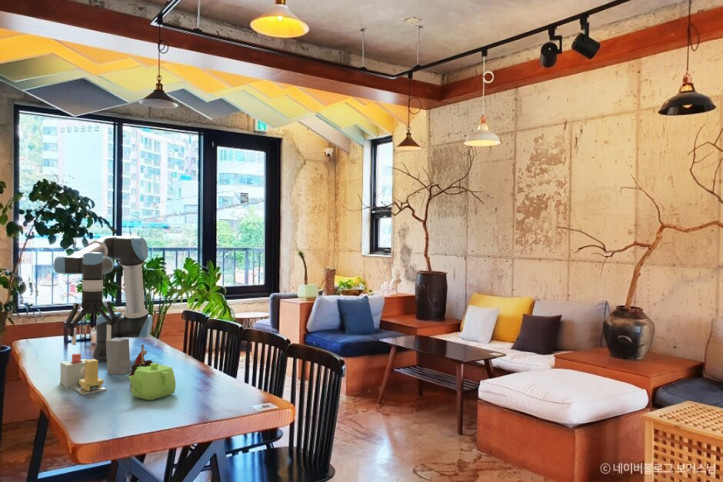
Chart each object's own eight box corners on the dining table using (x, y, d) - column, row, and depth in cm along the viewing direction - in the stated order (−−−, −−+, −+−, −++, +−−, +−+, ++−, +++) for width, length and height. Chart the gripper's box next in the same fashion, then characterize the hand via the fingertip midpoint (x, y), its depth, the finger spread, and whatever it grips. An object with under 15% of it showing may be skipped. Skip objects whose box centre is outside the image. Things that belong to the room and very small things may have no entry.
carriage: (96, 384, 228) (97, 357, 228) (103, 387, 224) (103, 360, 224) (78, 387, 223) (79, 360, 223) (85, 391, 219) (85, 363, 219)
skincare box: (130, 372, 255) (131, 338, 255) (118, 375, 248) (118, 340, 248) (117, 370, 258) (118, 336, 258) (104, 373, 252) (105, 339, 252)
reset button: (79, 364, 237) (79, 353, 237) (82, 366, 235) (82, 354, 235) (70, 365, 235) (70, 354, 235) (73, 367, 232) (73, 355, 232)
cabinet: (85, 379, 241) (85, 358, 241) (92, 382, 236) (92, 362, 235) (60, 383, 234) (60, 362, 234) (67, 387, 228) (67, 365, 228)
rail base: (91, 383, 235) (91, 377, 235) (105, 390, 224) (106, 384, 224) (68, 387, 228) (69, 381, 228) (82, 394, 218) (82, 388, 218)
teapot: (145, 407, 203) (145, 372, 203) (112, 398, 214) (112, 365, 214) (185, 396, 219) (185, 363, 219) (152, 388, 230) (153, 357, 230)
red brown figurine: (141, 392, 223) (142, 348, 223) (123, 389, 226) (124, 346, 226) (159, 385, 233) (160, 343, 233) (142, 383, 236) (142, 341, 236)
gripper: (119, 288, 235) (118, 337, 235) (55, 291, 217) (54, 345, 217) (127, 289, 230) (126, 340, 230) (62, 292, 212) (61, 347, 212)
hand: (91, 342), depth 223 cm, fingers open, 13 cm apart
